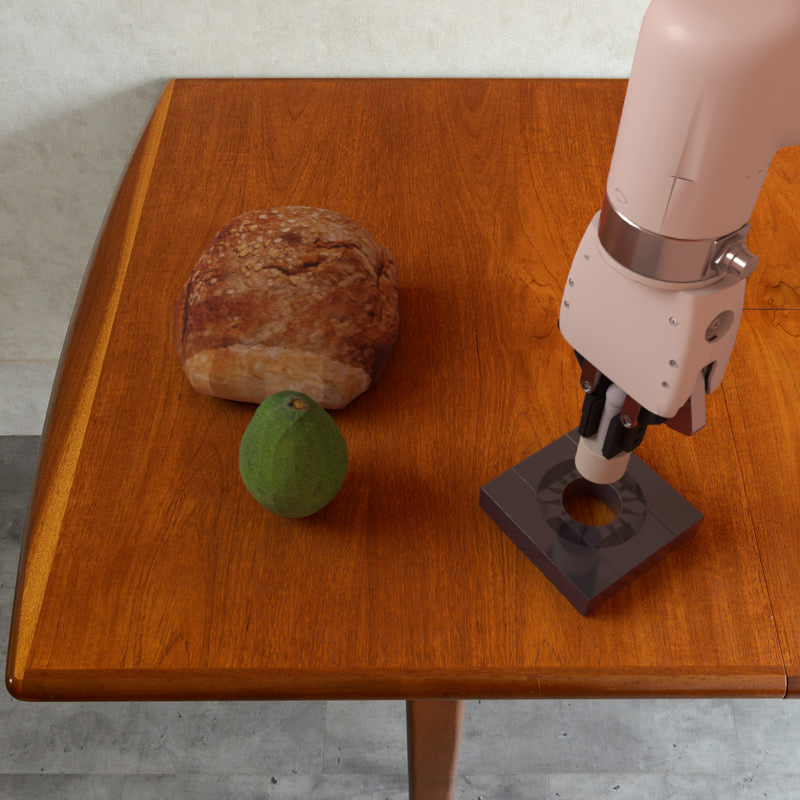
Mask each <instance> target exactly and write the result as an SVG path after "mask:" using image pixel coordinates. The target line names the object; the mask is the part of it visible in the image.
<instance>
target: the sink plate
mask: <svg viewBox="0 0 800 800" xmlns="http://www.w3.org/2000/svg"><path fill="white" fill-rule="evenodd" d="M578 428H579V425H577V426H576V427H574V428H573V429H571V430H570V431H567V432H566V433H564V434H562V435H561V436H560V437H558V438H556V439H555V440H553V441H552V442H550V443H549V444H547V445H545V446H544V447H542V448H540V449H538V450H537V451H536V452H534V453H532V454H530V455H529V456H528V457H526V458H524V459H523V460H521V461H519V462H518V463H517V464H514V465H513V466H512V467H510V468H508V469H507V470H506V471H504V472H502V473H500V474H499V475H497V476H496V477H494V478H493V479H491V480H489V481H487V482H486V483H484V484H483V485H481V486H480V488H479V494H478V495H479V496H478V506H479V508H480V509H482V511H483V512H484V513H485V514H486V515H487V516H488V517H489V518H490V519H491V520H492V521H493V522H494V524H496V526H498V528H500V530H501V531H502V532H503V533H504V534H505V535H506V536H507V537H508V539H510V540H511V541H512V543H513V544H515V546H516V547H517V548H518V549H519V550H520V551H521V553H523V554H524V555H525V557H526V558H527V559H528V560H529V561H530V562H532V564H533V565H534V566H535V567H536V568H537V569H538V570H539V571H540V572H541V573H542V574H543V575H544V576H545V577H546V578H547V580H548V581H549V582H550V583H551V584H552V585H553V586H554V587H555V588H556V589H557V590H558V592H560V593H561V595H562V596H563V597H564V598H565V599H566V600H567V601H568V603H570V604H571V605H572V606H573V607H574V608H575V609H576V610H577V612H578V613H579V614H580V615H581V616H582V617H583V618H584V617H586V616H588V615H590V613H591V612H593V611H594V610H595V609H597V608H598V607H600V606H601V605H602V604H604V603H605V602H607V601H608V600H609V599H610V598H612V597H614V596H615V594H617V593H619V592H620V591H622V590H623V589H624V588H626V586H628V585H629V584H630V583H632V582H633V581H635V580H636V579H637V578H639V577H640V576H642V574H644V573H646V572H647V571H648V570H650V569H651V568H652V567H653V566H655V565H656V564H658V563H659V562H660V561H662V560H663V559H664V558H666V557H667V556H668V555H669V554H671V553H672V552H674V551H675V550H676V549H678V548H679V547H681V546H682V545H684V544H685V543H686V542H688V541H689V540H690V539H691V538H693V537H694V536H696V535H697V534H698V531H699V530H700V528H701V525H702V524H703V521H704V519H705V514H704V513H703V512H702V511H701V510H699V509H698V507H696V506H695V505H694V504H692V503H691V502H690V501H689V500H688V499H687V498H686V497H685V496H684V495H682V493H680V492H679V491H678V490H676V488H674V486H672V485H671V484H670V483H669V482H668V481H667V480H666V479H665V478H663V477H662V476H661V475H660V474H659V473H658V472H656V471H655V470H654V469H653V468H652V467H651V466H650V465H649V464H647V463H646V462H645V461H644V460H643V459H642V458H641V457H640V456H638V455H637V454H636V453H635V452H634V451H632V452H631V455H630V458H629V461H628V464H627V467H626V470H625V472H624V474H623V476H622V477H621V478H620V479H619V480H617V481H616V482H613V483H610V484H598V483H594V482H591V481H589V480H587V479H586V478H584V477H583V476H582V475H581V474H580V473H579V471H578V470H577V467H576V464H575V457H576V453H577V449H578V445H579V441H580V437H581V435H580V434H579V433H578ZM577 496H578V497H579V496H585V497H592V498H595V499H597V500H599V501H601V502H603V503H604V504H605V505H606V506H607V508H609V509H610V510H611V512H612V515H613V517H614V519H613V520H612V521H611V522H609V523H607V524H601V525H597V526H596V525H590V524H584V523H582V522H580V521H578V520H576V519H574V518H573V517H572V516H571V515H570V514H569V513H568V512H567V511H566V509H565V506H564V504H563V503H564V502H566V501H567V500H569V499H570V498H573V497H577Z"/></svg>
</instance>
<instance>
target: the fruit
mask: <svg viewBox="0 0 800 800" xmlns="http://www.w3.org/2000/svg"><path fill="white" fill-rule="evenodd" d="M238 463H239V465H238V466H239V472H240V476H241V479H242V482H243V484H244V485H245V487H246V489H247V490H248V492H249V493H250V495H251V496H252V497H253V499H254V500H255V501H256V502H257V503H258V504H259V505H261V506H262V507H263V508H264V509H265V510H266V511H267V512H270V513H272V514H275V515H278V516H280V517H283V518H285V519H301V518H306V517H309V516H311V515H313V514H315V513H318V512H320V511H321V510H322V509H323V508H325V507H326V506H327V505H328V504H330V503H331V501H333V500H334V498H335V497H336V496H337V494H338V493H339V491H340V490H341V488H342V487H343V484H344V481H345V478H346V475H347V473H348V472H347V471H348V467H349V454H348V444H347V442H346V440H345V437H344V435H343V433H342V431H341V430H340V428H339V426H338V424H337V423H336V421H335V419H334V418H333V416H332V415H331V414H330V413H329V412H327V411H326V409H323V408H322V406H320V405H319V404H318V403H317V402H315V401H314V400H313V399H312V398H310V397H309V396H307V395H306V394H305V393H301V392H297V391H292V390H284V391H281V392H278V393H275V394H273V395H271V396H269V397H268V398H266V399H265V400H264V401H263V402H262V404H259V406H258V407H257V408H256V410H255V412H254V415H253V416H252V418H251V420H250V422H249V424H248V425H247V427H246V428H245V430H244V432H243V435H242V437H241V440H240V446H239V453H238Z"/></svg>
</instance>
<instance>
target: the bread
mask: <svg viewBox="0 0 800 800" xmlns="http://www.w3.org/2000/svg"><path fill="white" fill-rule="evenodd" d="M192 267H193V268H192V271H191V273H190V275H189V277H188V279H187V281H186V282H185V283H184V284H183V285H182V286H181V288H180V290H179V293H178V294H177V297H176V299H175V303H174V310H173V313H174V314H173V316H174V317H173V332H172V333H173V334H172V346H173V349H174V350H175V352H176V354H177V356H178V359H179V361H180V363H181V366H182V370H183V373H184V376H185V378H186V380H187V382H188V383H189V384H190V385H191V387H192V388H193V389H194V390H195V391H196V392H197V393H198V394H201V395H206V396H209V397H214V398H218V399H223V400H229V401H236V402H242V403H250V404H256V405H261V404H262V402H263V401H264V400H265V399H266V398H268V397H269V396H271V395H273V394H275V393H278V392H281V391H284V390H292V391H297V392H301V393H305V394H306V395H307V396H309V397H310V398H312V399H313V400H314V401H315V402H317V403H318V404H319V405H320V406H322V408H323V409H324V410H343V409H344V408H346V406H348V405H349V404H350V403H351V402H352V401H353V400H355V399H356V398H357V397H358V396H361V394H363V393H364V392H366V391H367V390H370V388H372V387H374V386H375V385H376V383H377V382H378V380H379V379H380V377H381V376H382V374H383V372H384V371H385V369H386V367H387V365H388V363H389V361H390V359H391V356H392V354H393V352H394V349H395V347H396V345H397V342H398V337H399V329H400V310H399V309H400V308H399V268H398V264H397V260H396V258H395V256H394V255H393V254H392V252H391V251H390V249H388V247H387V246H385V245H383V244H381V243H378V242H376V240H375V238H374V237H373V235H372V234H371V233H370V231H368V230H367V229H366V228H365V227H364V226H363V225H361V224H359V222H357V221H356V220H354V219H353V218H351V217H349V216H347V215H346V214H343V213H342V212H339V211H334V210H331V209H326V208H322V207H321V208H320V207H315V206H302V205H301V206H300V205H288V206H287V205H286V206H276V207H271V208H264V209H257V210H249V211H247V212H243V213H241V214H239V215H236V216H235V217H234V218H232V219H230V220H229V221H228V222H226V223H225V224H223V225H222V227H221V228H220V229H219V230H218V232H217V233H216V234H215V235H214V237H213V238H212V240H211V241H210V243H208V245H207V247H206V248H205V249H204V250H203V251H202V253H201V254H200V256H199V257H198V259H197V260H196V262H195V263H194V264H193V266H192Z"/></svg>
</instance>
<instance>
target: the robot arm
mask: <svg viewBox="0 0 800 800" xmlns="http://www.w3.org/2000/svg"><path fill="white" fill-rule="evenodd" d="M636 41H637V42H636V46H635V51H634V56H633V60H632V65H631V69H630V73H629V79H628V84H627V87H626V93H625V97H624V102H623V106H622V111H621V116H620V120H619V124H618V129H617V134H616V138H615V139H616V140H615V143H614V149H613V153H612V157H611V161H610V167H609V171H608V176H607V181H606V186H605V190H604V195H603V198H602V204H601V208H600V209H599V210H598V211H597V212H596V213H595V214H594V216H593V217H592V219H591V221H590V222H589V223H588V226H587V228H586V230H585V232H584V233H583V236H582V238H581V240H580V242H579V245H578V247H577V249H576V252H575V255H574V257H573V260H572V262H571V266H570V269H569V272H568V275H567V279H566V282H565V286H564V290H563V293H562V294H563V295H562V299H561V304H560V310H559V318H558V319H557V321H556V324H557V328H558V330H559V331H560V333H561V335H562V337H563V338H564V339H565V341H566V342H567V343H568V345H570V346H571V347H572V348H573V352H574V356H575V358H576V360H577V362H578V365H579V367H580V370H581V372H580V373H581V374H580V378H579V385H580V387H581V389H582V391H583V392H585V394H584V398H583V402H582V407H581V411H580V412H581V416H580V420H579V425H578V426H579V428H578V433H579V434H580V435H581V436H582V437H583V438H585V437H586V438H588V437H590V436H592V435H593V434H595V433H596V432H597V430H598V427H599V423H600V420H601V416H602V412H603V409H604V405H605V401H606V392H607V389H608V388H609V386H610V385H611V384H613V383H615V384H616V385H617V386H619V387H620V388H621V389H622V390H623V391H625V392H626V393H627V395H626V398H625V401H624V404H623V407H622V410H621V412H620V413H618V414H616V415H615V416H613V417H612V418H611V420H610V423H609V426H608V430H607V433H606V437H605V440H604V444H603V447H602V451H601V452H602V455H603V456H604V457H605V458H606V459H607V460H610V459H612V458H613V457H615V456H616V455H618V454H619V453H621V452H622V451H625V452H626V453H630V452H631V451H632V452H634V450H636V449H637V448H639V446H640V445H641V444H642V443H643V441H644V439H645V436H646V433H647V430H648V426H660V425H662V424H664V425H666V426H667V428H669V429H671V430H673V431H675V432H677V433H679V434H682V435H683V436H686V437H692V436H694V434H697V433H698V432H699V431H700V430H702V429H704V428H705V427H706V425H707V413H706V409H707V408H706V395H707V396H710V395H711V394H712V393H713V392H715V391H716V390H717V389H718V388H719V387H720V385H721V383H722V381H723V380H724V379H723V378H724V377H725V374H726V371H727V368H728V366H729V362H730V359H731V355H732V352H733V349H734V346H735V342H736V338H737V335H738V331H739V327H740V323H741V319H742V314H743V307H744V303H745V302H744V301H745V294H746V285H747V278H748V277H749V276H750V275H752V274H753V272H754V271H755V269H757V266H758V265H759V261H760V258H759V256H757V255H755V254H754V253H752V252H751V251H750V248H749V246H747V245H746V240H747V237H748V234H749V232H750V229H751V226H752V224H751V223H749V222H750V220H751V217H752V214H753V212H754V209H755V207H756V204H757V201H758V199H759V196H760V193H761V191H762V188H763V186H764V183H765V180H766V177H767V174H768V172H769V169H770V167H771V163H772V162H773V160H774V159H773V158H774V156H775V155H776V154H777V152H778V151H780V150H782V149H784V148H787V147H799V146H800V0H651V1H650V2H649V4H648V6H647V8H646V10H645V12H644V15H643V19H642V22H641V25H640V29H639V32H638V37H637V40H636Z"/></svg>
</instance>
